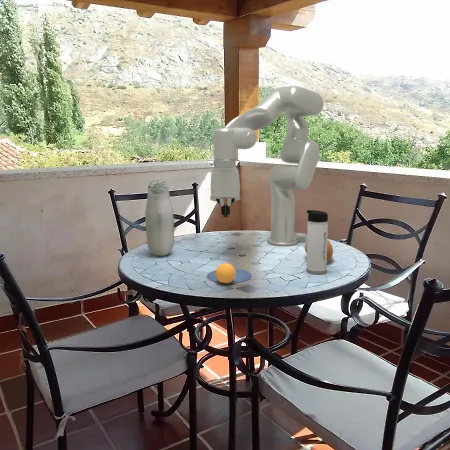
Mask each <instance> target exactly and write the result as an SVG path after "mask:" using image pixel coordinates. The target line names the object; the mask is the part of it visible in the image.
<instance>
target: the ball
mask: <svg viewBox="0 0 450 450" xmlns="http://www.w3.org/2000/svg"><path fill="white" fill-rule="evenodd" d="M235 269H236V268H235V266H233V265H232V264H230V263H227V262H225V263H221V264H219V265H218V266H217V267H216V269H215V270H216V277H217V279H218V280H219V281H220V282H221V283H220V284H231V283H230V282H232V281H233V280H234V278H235V275H236V271H235Z"/></svg>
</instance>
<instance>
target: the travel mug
mask: <svg viewBox="0 0 450 450" xmlns="http://www.w3.org/2000/svg"><path fill="white" fill-rule="evenodd" d="M306 214H307V226H306V227H307V228H306V229H307V231H306V232H307V233H306V240H307V241H306V242H307V253H306V272H307V274H308V273H309V274H311V275H324V274H326V273H327V264H328V262H327V240H328V233H329V231H328V228H329V213H327V212H326V211H323V210H314V209H313V210H312V209H307V210H306Z"/></svg>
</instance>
